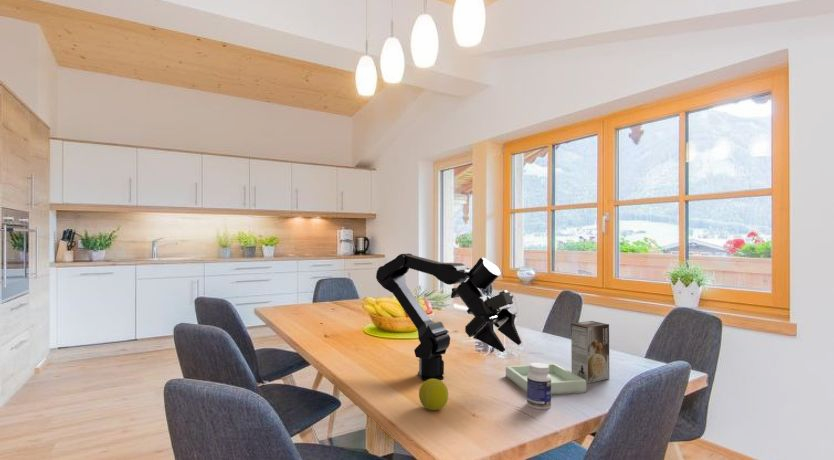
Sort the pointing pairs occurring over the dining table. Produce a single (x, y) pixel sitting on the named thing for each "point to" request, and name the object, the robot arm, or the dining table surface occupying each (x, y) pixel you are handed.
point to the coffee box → (590, 350)
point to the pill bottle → (539, 386)
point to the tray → (560, 379)
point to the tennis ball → (433, 394)
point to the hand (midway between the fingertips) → (512, 347)
